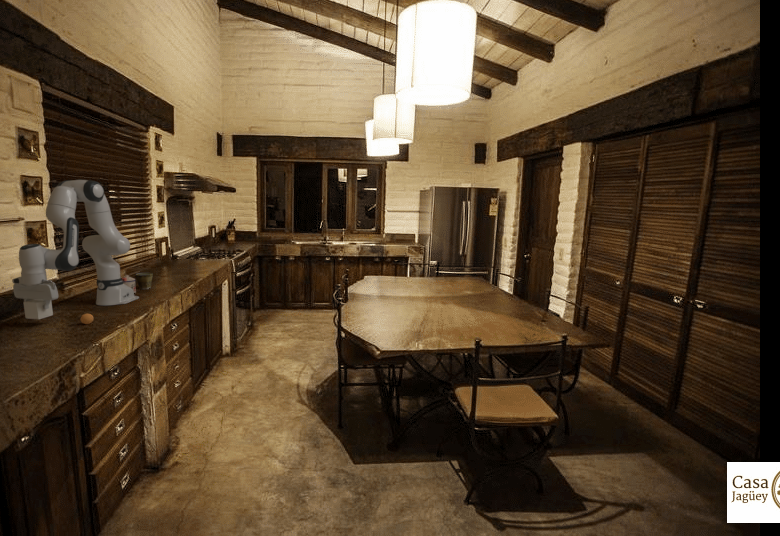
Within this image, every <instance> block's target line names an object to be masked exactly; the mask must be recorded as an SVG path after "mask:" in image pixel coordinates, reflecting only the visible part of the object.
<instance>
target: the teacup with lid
mask: <svg viewBox="0 0 780 536" xmlns="http://www.w3.org/2000/svg"><path fill="white" fill-rule="evenodd" d="M123 278H127V281H123V282H124V283H123V284H125V285H127V286H128V287H130V288H132V289H133V291H134V293H135V294H136V293H137V289H136V278H134V277H131V276H130V275H127V274H126V275H124V277H123Z"/></svg>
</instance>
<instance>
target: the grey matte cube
mask: <svg viewBox="0 0 780 536" xmlns="http://www.w3.org/2000/svg"><path fill="white" fill-rule="evenodd" d="M44 304H45V302H44V300H37V299H31V300H30V301H26V302H25V301H23V309H24V316H25V319H31V320H41V319H45V318H48V317H51V316H54V312H53V304H52V301H51V302H50V304H49V308H48V309H43V306H42V305H44Z"/></svg>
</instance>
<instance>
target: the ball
mask: <svg viewBox="0 0 780 536" xmlns="http://www.w3.org/2000/svg"><path fill="white" fill-rule="evenodd" d="M80 322H81V323H82V324H85V325H90V324H91V323H93V322H94V316H93V315H92V314H91V313H84V314H82V315H81V317H80Z"/></svg>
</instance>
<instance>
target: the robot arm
mask: <svg viewBox="0 0 780 536" xmlns="http://www.w3.org/2000/svg"><path fill="white" fill-rule="evenodd" d="M77 202H78V203H81V202H83V203H84V208H85V212H86V217H87V221H88V225H89V227H90V228H91V229H92V230H94V231H95V232H97V234H92V235H88V236H86V237H84V238H83V240H82V243H81V246H82V249H83V251H84V252H86V253H87V254H88V255H89V256H90V258H91V259H92V260H93V263H94V265H95V270H96V286H97V289H96V300H95V305H97V306H115V305H125V304H128V303H130V302H133V301H136V300H138V299H140V296H138V295H135V294H134V291H133V289H132V288H130V287H128V286H127V285H125V284H123V283H124V282H123V281H127V278H124V277H121V265H120V263H118V262H117V261H116V260H115V259H114V258H113V257H112V256H121V255H126V254H127V253H128V252H129V251H130V249H131V242H130V240H129V239H128V238H127V237H125V236H124V235H123V234H122V233H121V232H120V231H119V229H118V228H117V227H116V224H115V222H114V219H113V215H112V212H111V207H110V203H109V202H108V199H107V197H106V194H105V189H104V187H103V185H102V184H101V183H100V182H98V181H95V180H88V179H75V180H72V179H71V180H63V181H60V182H59V183H57V185H56V186H55V187H54V188H53V190H52V191H51V194H50V195H49V198H48V201H47V205H46V208H45V217H46V219H47V220H48V221H49V222H50V223H51V224H53V225H54V226H57V227H59V228H60V229H62V231H63V243H62V244H63V245H62V248H61V249H54V248H53V249H50V248H47V247H44V246H42V245H41V244H40V243H29V244H28V243H27V244H24V245H21V246H20V248H19V250H18V261H19V266H20V269H21V271H20V276H18V277H15V278H13V279H12V281H11V282H12V284H13V286H12V287H13V295H14V297H15V298H16V299H23V302H26V301H30V300H34V299H37V300H44V302H45V304H44V305H42V306H43V309H48V308H49V304H50V302H52V301H54V300H58V298H59V292H58V288H57V286H56V283H55V282H54V281H53V280H52V279H49V280H48V278H47V277H48V275H47V271H46V270H52V271H53V270H56V271H64V272H70V271H73V270H75V269H76V268H77V267H78V265H79V263H80V257H79V236H80V227H79V226H80V225H79V221H78V220H77V218H76V215H75V214H76V209H77Z"/></svg>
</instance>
